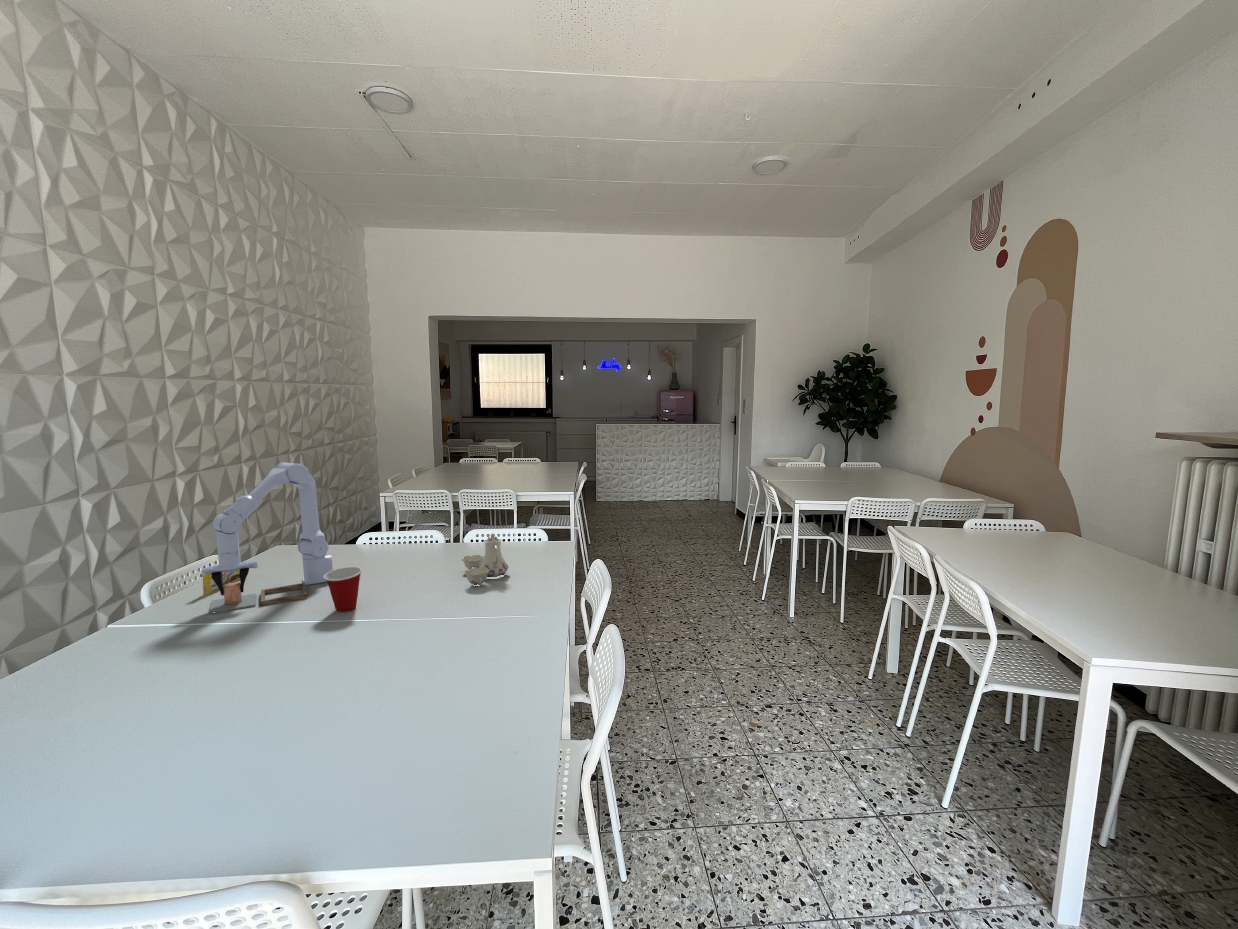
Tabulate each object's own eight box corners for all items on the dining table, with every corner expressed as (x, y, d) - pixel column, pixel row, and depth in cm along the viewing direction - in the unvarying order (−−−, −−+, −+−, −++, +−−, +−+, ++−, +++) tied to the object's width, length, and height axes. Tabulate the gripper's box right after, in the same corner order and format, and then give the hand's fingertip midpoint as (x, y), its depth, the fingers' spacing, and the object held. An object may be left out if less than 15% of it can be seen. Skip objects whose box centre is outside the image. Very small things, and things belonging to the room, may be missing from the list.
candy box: (209, 595, 189) (206, 571, 188) (202, 595, 189) (200, 571, 188) (242, 580, 205) (240, 558, 204) (236, 580, 205) (234, 558, 204)
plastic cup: (318, 611, 174) (315, 574, 172) (349, 600, 183) (346, 564, 182) (341, 618, 169) (338, 579, 167) (371, 606, 178) (369, 569, 177)
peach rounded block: (223, 602, 180) (222, 584, 180) (241, 599, 183) (239, 581, 183) (226, 608, 175) (224, 589, 175) (243, 604, 178) (241, 586, 178)
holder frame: (305, 586, 197) (305, 582, 196) (307, 598, 186) (307, 593, 185) (261, 593, 190) (261, 589, 190) (261, 605, 179) (260, 601, 179)
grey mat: (256, 595, 189) (256, 593, 189) (255, 606, 179) (255, 604, 178) (212, 602, 182) (212, 600, 182) (208, 614, 172) (208, 612, 172)
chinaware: (458, 573, 216) (452, 531, 214) (501, 563, 223) (495, 523, 220) (470, 596, 191) (462, 549, 188) (518, 584, 197) (511, 539, 195)
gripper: (256, 545, 186) (259, 585, 187) (201, 552, 178) (205, 593, 180) (255, 550, 180) (259, 591, 181) (199, 557, 172) (203, 600, 174)
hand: (232, 593), depth 180 cm, fingers closed on peach rounded block, 4 cm apart
